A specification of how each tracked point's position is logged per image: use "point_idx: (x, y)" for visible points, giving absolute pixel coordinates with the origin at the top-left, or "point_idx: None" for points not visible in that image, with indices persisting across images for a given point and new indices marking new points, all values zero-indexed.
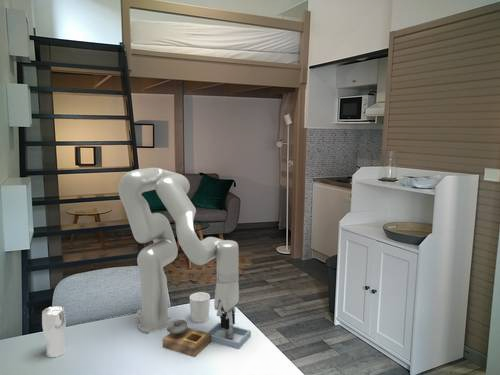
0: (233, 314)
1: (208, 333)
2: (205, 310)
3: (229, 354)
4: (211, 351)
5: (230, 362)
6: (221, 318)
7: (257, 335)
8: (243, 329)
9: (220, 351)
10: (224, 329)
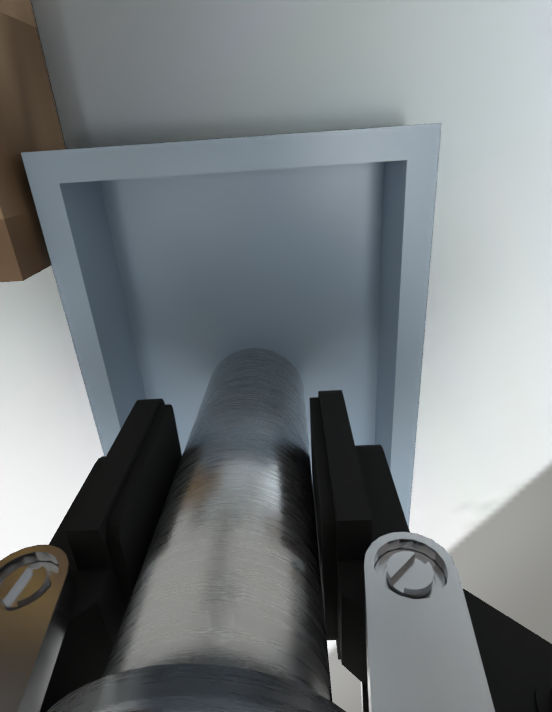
0: (337, 642)
1: (7, 240)
2: None
3: (82, 466)
4: (4, 318)
5: (8, 517)
6: (80, 527)
7: (462, 514)
8: None
9: (64, 387)
10: (386, 245)
